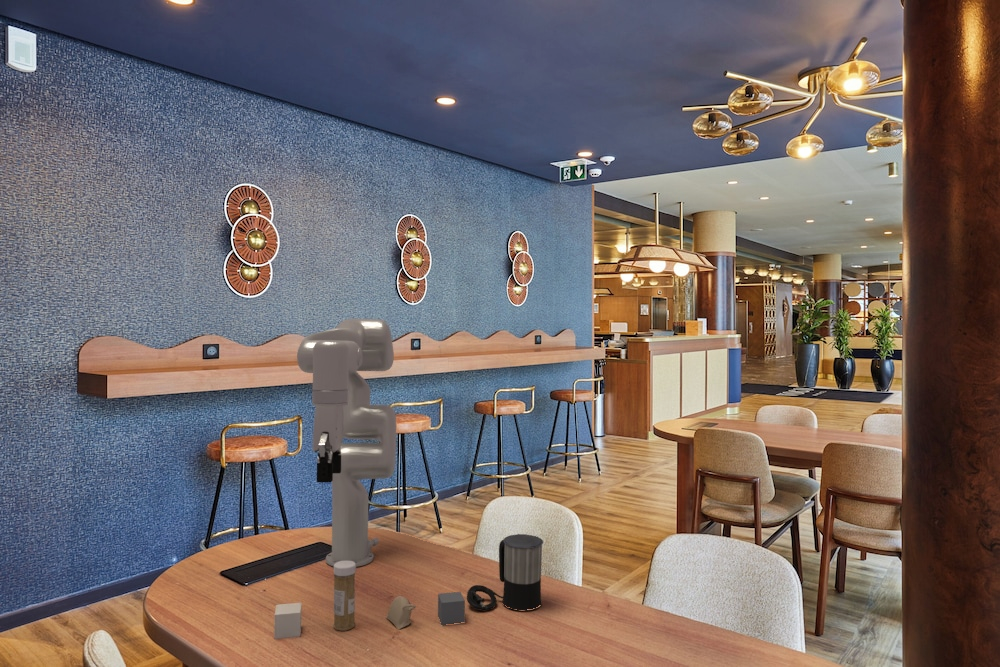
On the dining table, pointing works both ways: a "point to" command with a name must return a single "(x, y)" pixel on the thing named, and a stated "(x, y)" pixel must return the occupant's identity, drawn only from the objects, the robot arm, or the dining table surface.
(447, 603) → the charcoal block
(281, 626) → the off-white block
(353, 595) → the sprinkles bottle
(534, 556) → the milk frother
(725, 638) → the dining table surface
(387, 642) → the dining table surface
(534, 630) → the dining table surface
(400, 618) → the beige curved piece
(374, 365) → the robot arm
